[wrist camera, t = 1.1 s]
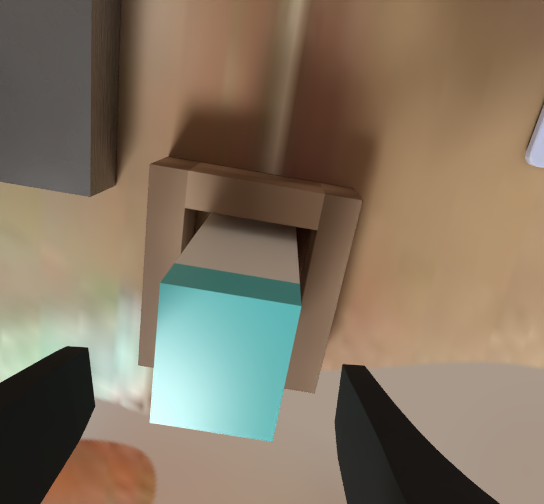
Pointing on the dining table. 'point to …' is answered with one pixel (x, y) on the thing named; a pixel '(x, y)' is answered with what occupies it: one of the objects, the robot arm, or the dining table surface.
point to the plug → (227, 328)
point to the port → (59, 94)
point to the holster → (258, 206)
